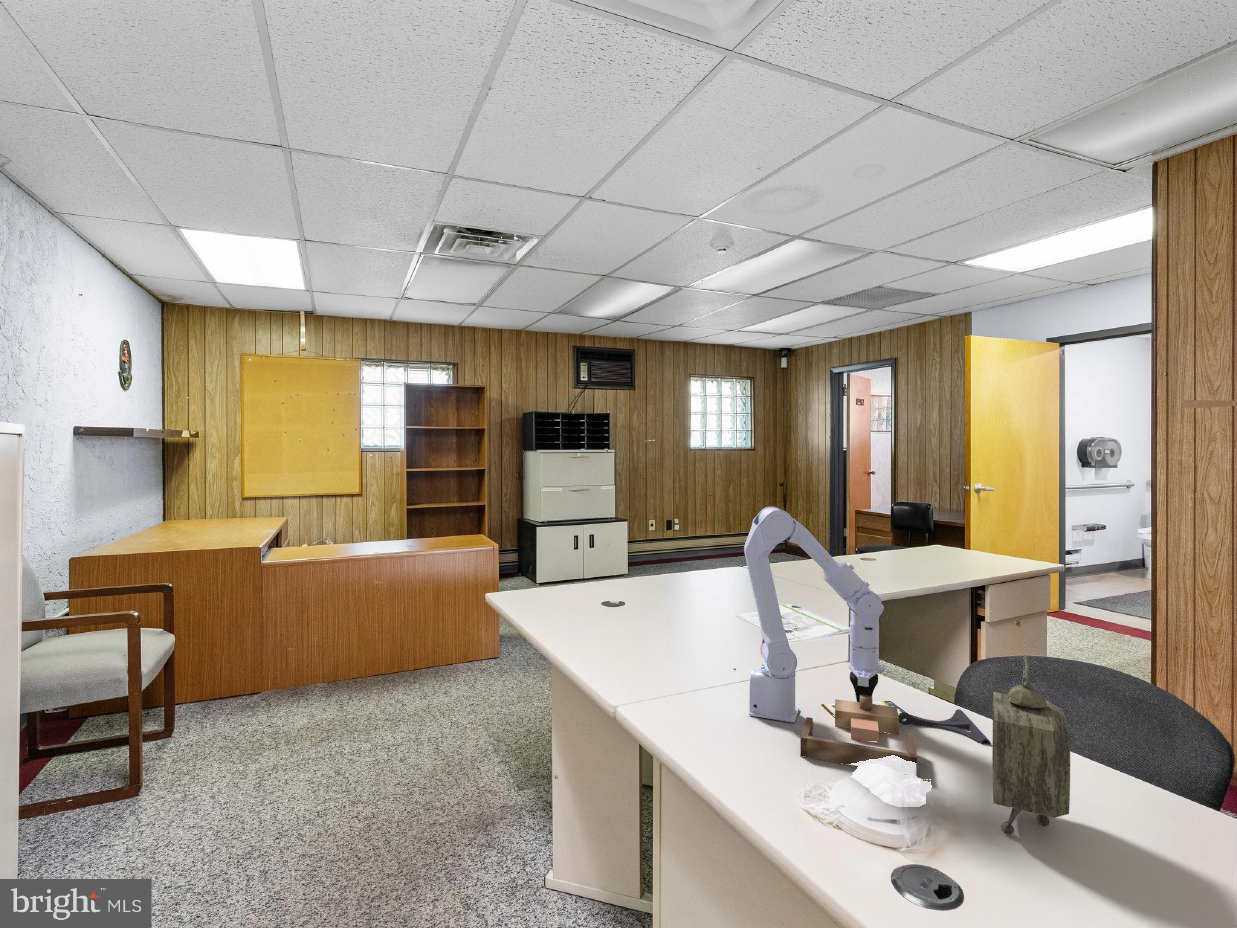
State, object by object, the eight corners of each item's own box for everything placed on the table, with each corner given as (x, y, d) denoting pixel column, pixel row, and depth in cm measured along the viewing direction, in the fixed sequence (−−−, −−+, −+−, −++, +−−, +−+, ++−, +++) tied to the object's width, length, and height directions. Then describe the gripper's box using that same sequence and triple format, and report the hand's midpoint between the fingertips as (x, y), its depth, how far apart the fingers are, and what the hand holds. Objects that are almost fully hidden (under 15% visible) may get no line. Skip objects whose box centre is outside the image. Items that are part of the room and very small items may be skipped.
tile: (850, 739, 121) (851, 726, 121) (850, 729, 126) (850, 716, 126) (878, 743, 120) (878, 730, 120) (877, 732, 124) (877, 720, 124)
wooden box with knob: (834, 726, 127) (835, 698, 127) (835, 715, 133) (835, 687, 133) (898, 736, 123) (899, 706, 123) (896, 723, 129) (896, 695, 128)
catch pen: (800, 756, 114) (800, 737, 114) (806, 734, 123) (806, 716, 123) (917, 777, 107) (917, 757, 107) (914, 753, 115) (914, 734, 115)
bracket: (889, 711, 136) (889, 699, 136) (963, 716, 133) (963, 704, 133) (907, 742, 122) (908, 728, 122) (990, 748, 119) (990, 734, 119)
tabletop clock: (992, 791, 103) (993, 640, 102) (1058, 806, 98) (1060, 649, 98) (993, 837, 90) (995, 666, 90) (1070, 858, 86) (1072, 678, 85)
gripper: (884, 657, 123) (884, 725, 124) (884, 637, 137) (884, 698, 137) (847, 653, 126) (846, 719, 126) (850, 634, 139) (849, 694, 140)
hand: (863, 708), depth 132 cm, fingers closed
